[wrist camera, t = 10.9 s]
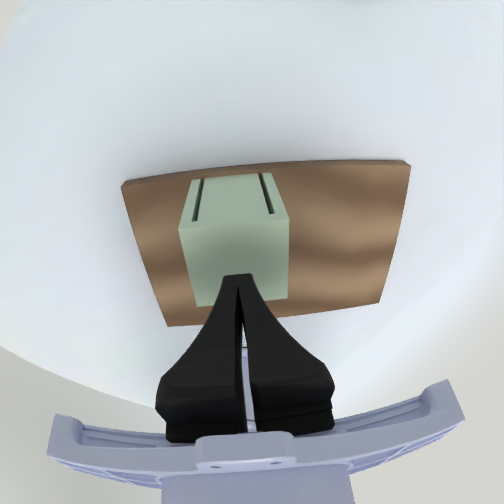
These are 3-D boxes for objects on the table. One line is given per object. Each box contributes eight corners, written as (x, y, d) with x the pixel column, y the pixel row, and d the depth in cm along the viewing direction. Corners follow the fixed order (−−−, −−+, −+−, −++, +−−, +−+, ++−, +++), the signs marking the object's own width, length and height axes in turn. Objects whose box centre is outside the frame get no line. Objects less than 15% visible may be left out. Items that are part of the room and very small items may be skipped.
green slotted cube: (272, 238, 22) (287, 298, 17) (203, 244, 22) (197, 306, 17) (270, 172, 19) (289, 218, 14) (191, 179, 19) (178, 229, 14)
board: (374, 295, 29) (378, 302, 28) (169, 317, 29) (167, 326, 28) (403, 160, 20) (411, 165, 19) (125, 181, 20) (120, 187, 19)
